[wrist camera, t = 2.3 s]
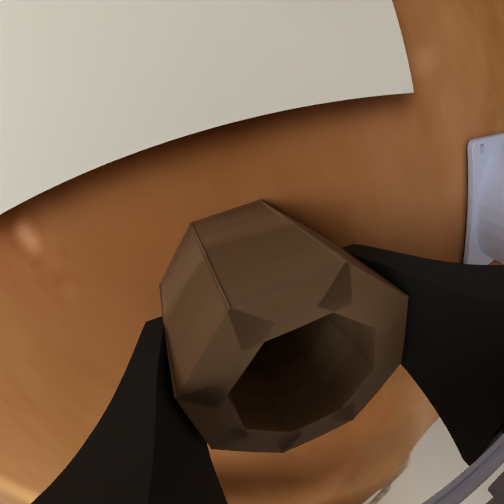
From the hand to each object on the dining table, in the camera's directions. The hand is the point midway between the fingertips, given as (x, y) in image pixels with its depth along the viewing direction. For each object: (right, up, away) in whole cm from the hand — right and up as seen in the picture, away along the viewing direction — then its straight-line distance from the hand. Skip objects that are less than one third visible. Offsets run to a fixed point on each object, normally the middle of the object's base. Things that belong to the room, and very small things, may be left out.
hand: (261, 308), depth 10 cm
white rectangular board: (-4, +11, -4) cm, 12 cm away
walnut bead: (-1, +1, +1) cm, 2 cm away
